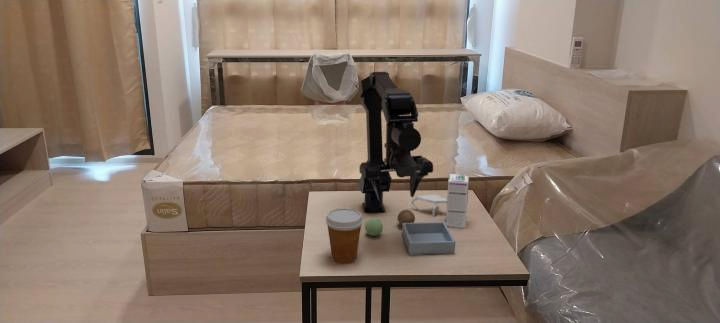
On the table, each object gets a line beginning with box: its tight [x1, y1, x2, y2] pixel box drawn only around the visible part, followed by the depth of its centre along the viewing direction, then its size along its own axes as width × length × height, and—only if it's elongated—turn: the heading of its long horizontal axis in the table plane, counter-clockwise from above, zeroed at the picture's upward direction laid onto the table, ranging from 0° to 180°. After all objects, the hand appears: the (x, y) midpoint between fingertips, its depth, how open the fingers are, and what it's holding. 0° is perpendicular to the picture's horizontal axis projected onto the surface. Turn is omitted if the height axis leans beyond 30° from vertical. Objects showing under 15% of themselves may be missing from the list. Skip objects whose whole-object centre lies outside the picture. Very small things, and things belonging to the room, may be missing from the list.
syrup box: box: [445, 173, 470, 229], centre depth 155 cm, size 6×6×14 cm
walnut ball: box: [397, 209, 416, 227], centre depth 154 cm, size 5×5×5 cm
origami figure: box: [410, 194, 447, 217], centre depth 164 cm, size 12×8×5 cm
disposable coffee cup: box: [324, 207, 364, 264], centre depth 135 cm, size 10×10×12 cm
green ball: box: [364, 217, 384, 237], centre depth 149 cm, size 5×5×5 cm
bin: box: [401, 221, 457, 256], centre depth 144 cm, size 12×12×4 cm
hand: (395, 198), depth 141 cm, fingers open, 9 cm apart
